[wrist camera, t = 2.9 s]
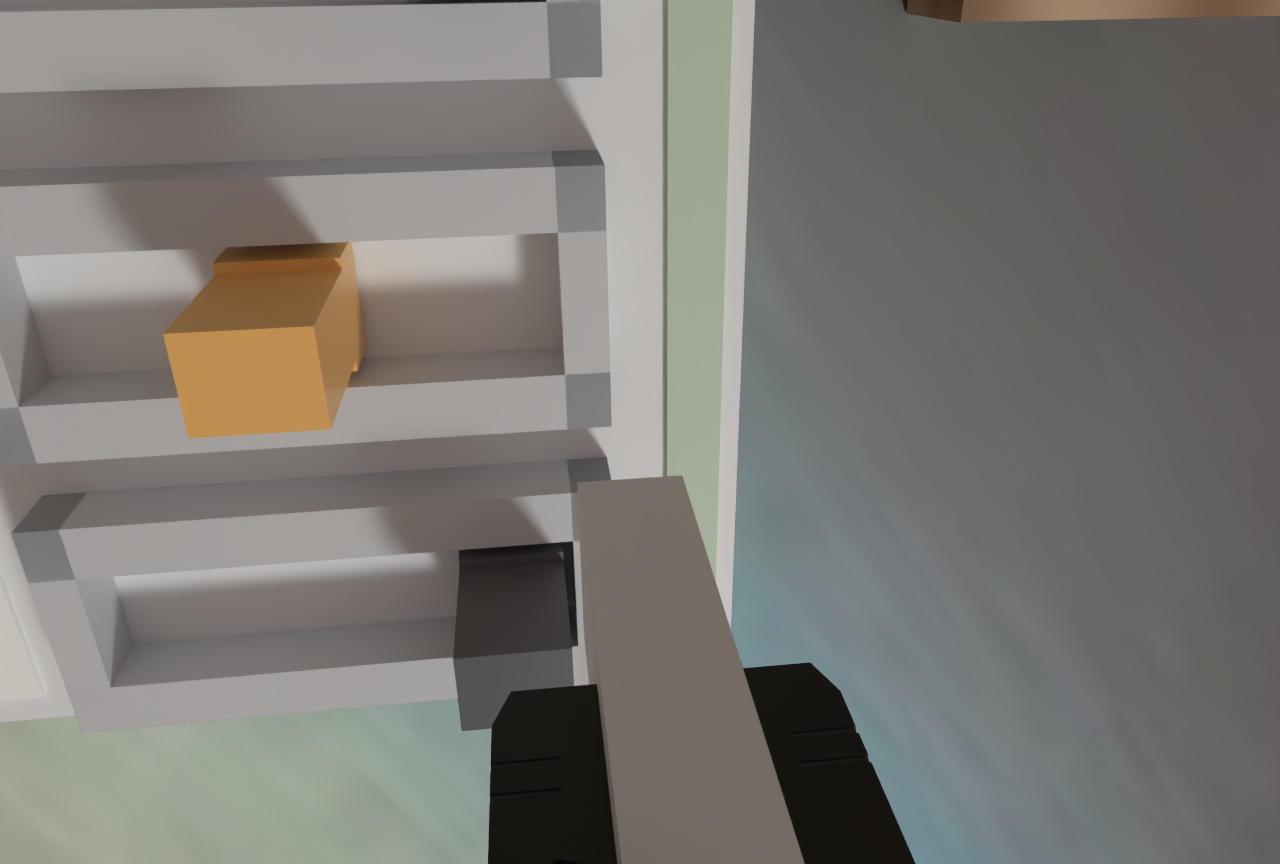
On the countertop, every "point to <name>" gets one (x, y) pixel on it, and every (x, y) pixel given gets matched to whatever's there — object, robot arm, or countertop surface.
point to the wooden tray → (1086, 9)
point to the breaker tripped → (268, 341)
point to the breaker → (509, 627)
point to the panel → (392, 317)
